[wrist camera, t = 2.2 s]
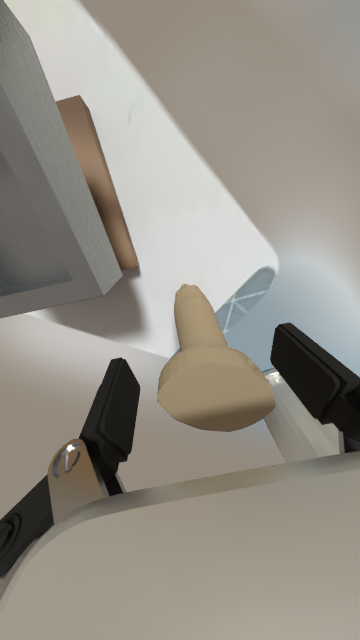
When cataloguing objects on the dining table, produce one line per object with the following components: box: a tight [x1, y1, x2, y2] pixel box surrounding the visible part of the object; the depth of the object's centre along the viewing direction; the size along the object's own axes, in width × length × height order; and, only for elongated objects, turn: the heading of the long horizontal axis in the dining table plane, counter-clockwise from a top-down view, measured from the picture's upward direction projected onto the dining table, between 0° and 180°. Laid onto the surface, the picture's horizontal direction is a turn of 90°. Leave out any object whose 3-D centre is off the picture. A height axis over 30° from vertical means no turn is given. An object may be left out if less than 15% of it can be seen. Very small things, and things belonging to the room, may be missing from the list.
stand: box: [55, 95, 139, 270], centre depth 13 cm, size 12×12×6 cm
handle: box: [157, 284, 276, 432], centre depth 14 cm, size 5×6×15 cm
